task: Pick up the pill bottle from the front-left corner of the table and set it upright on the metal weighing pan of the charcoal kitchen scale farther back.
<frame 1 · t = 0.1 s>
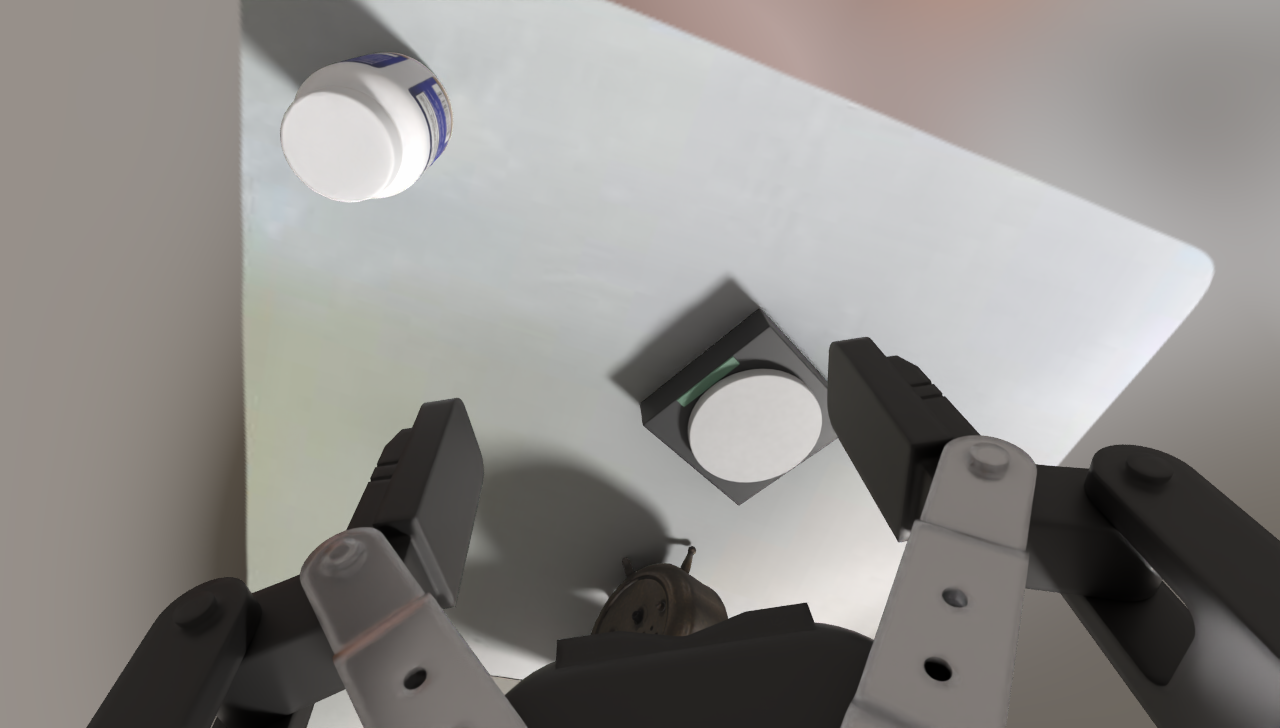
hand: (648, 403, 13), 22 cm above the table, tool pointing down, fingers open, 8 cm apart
alarm clock: (642, 567, 48), on the table
pill bottle: (401, 111, 30), on the table
scale: (744, 403, 40), on the table
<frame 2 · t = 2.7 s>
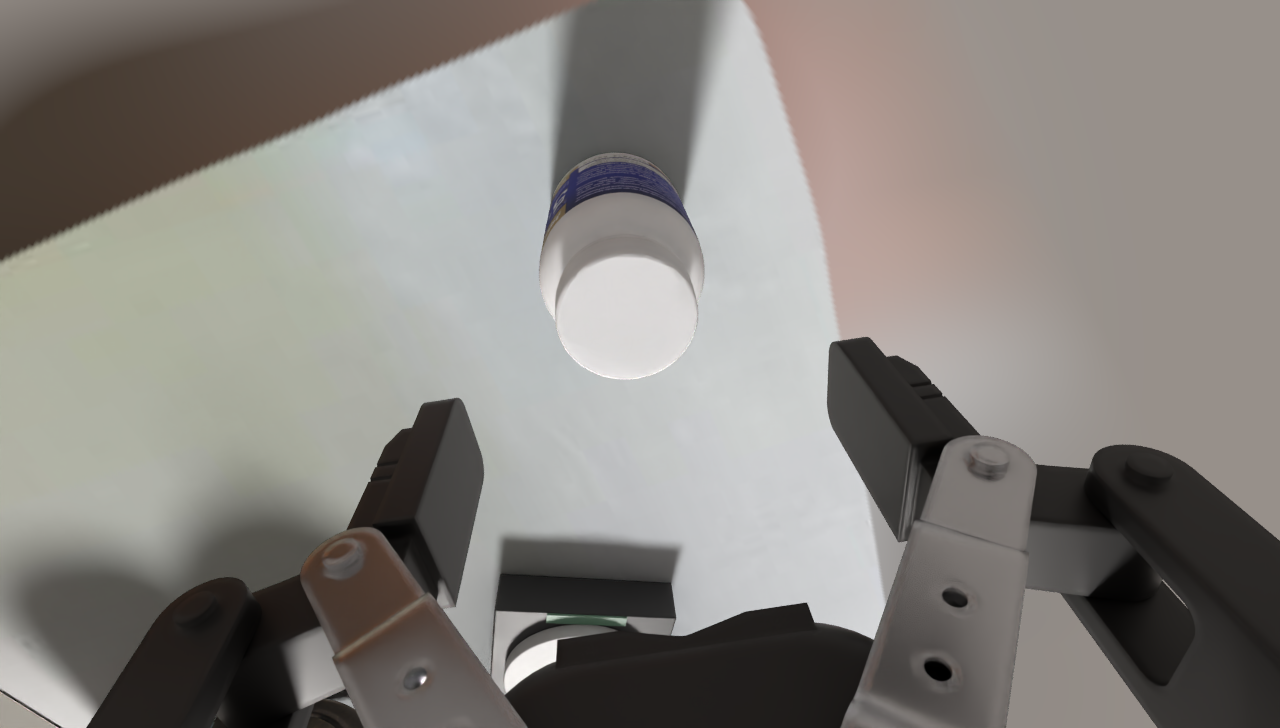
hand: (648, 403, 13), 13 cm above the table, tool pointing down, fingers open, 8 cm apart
alarm clock: (323, 688, 39), on the table
pill bottle: (615, 217, 24), on the table
scale: (578, 632, 37), on the table
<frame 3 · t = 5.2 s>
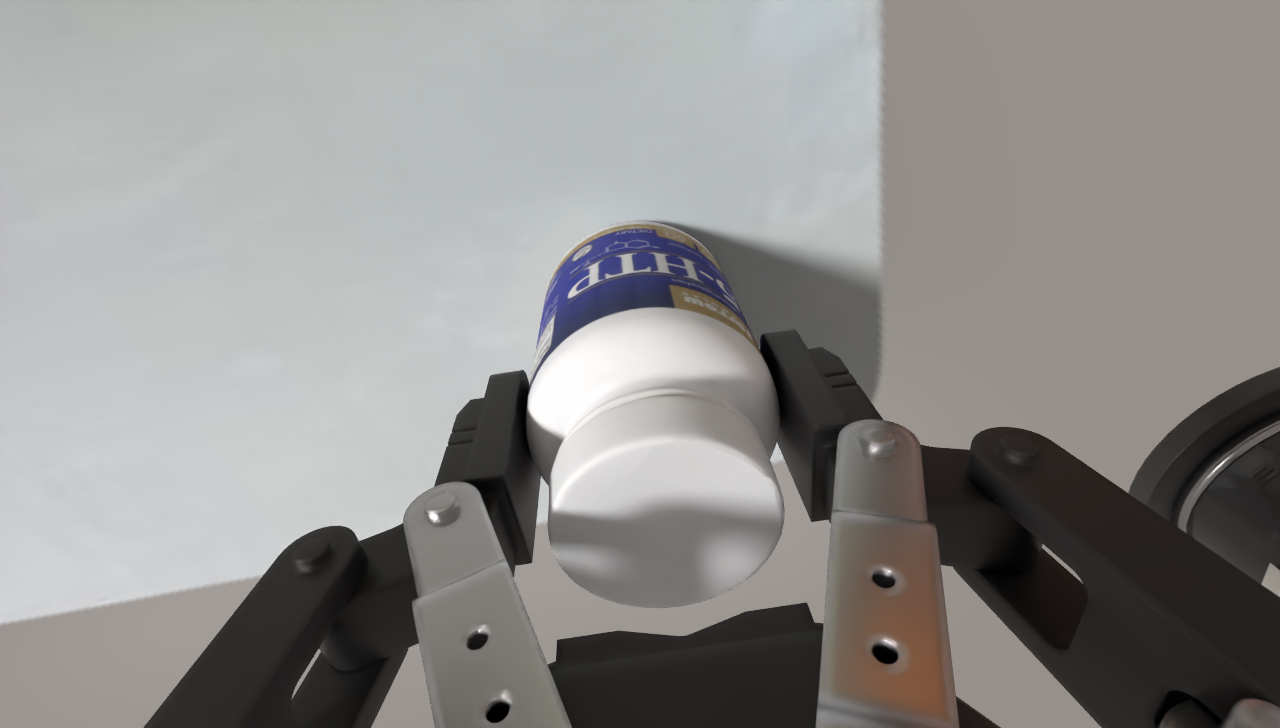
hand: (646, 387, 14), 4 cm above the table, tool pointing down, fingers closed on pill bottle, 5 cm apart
pill bottle: (635, 301, 18), on the table, touching gripper
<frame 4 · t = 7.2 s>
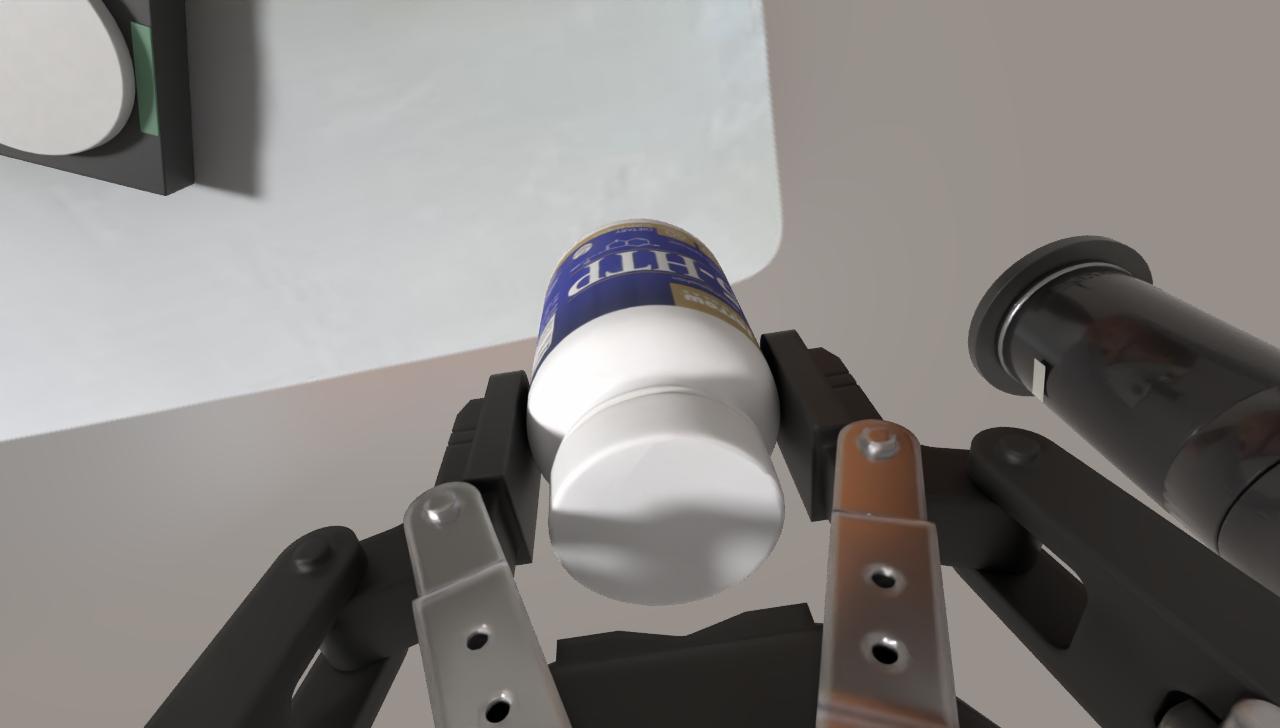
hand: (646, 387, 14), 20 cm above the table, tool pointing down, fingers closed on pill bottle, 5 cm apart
pill bottle: (635, 299, 18), point 16 cm above the table, touching gripper
scale: (63, 41, 26), on the table
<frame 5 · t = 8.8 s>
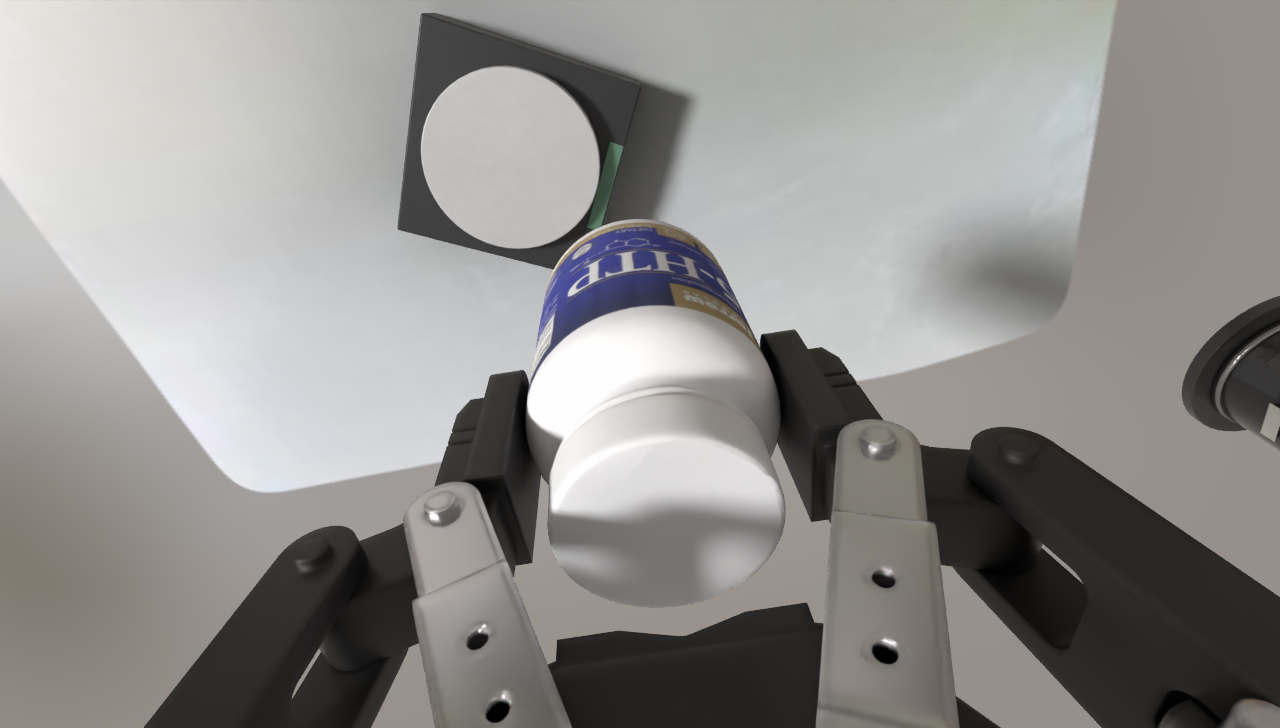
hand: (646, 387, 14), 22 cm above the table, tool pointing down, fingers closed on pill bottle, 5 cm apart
pill bottle: (635, 300, 18), point 17 cm above the table, touching gripper
scale: (518, 151, 31), on the table
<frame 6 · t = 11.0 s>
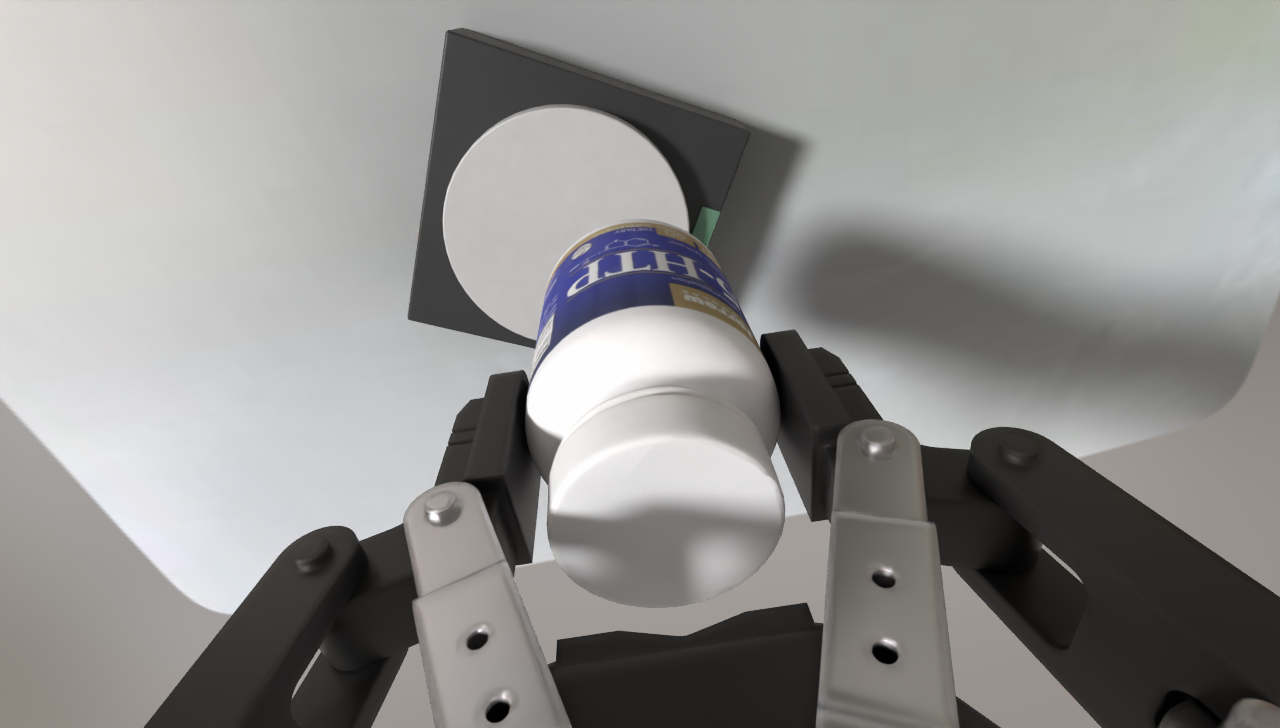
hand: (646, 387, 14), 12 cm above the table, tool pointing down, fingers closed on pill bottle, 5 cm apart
pill bottle: (634, 300, 18), point 7 cm above the table, touching gripper
scale: (570, 211, 23), on the table
when the fingers open (8 cm above the table, at t = 12.6 s): pill bottle stays where it is, resting on scale.
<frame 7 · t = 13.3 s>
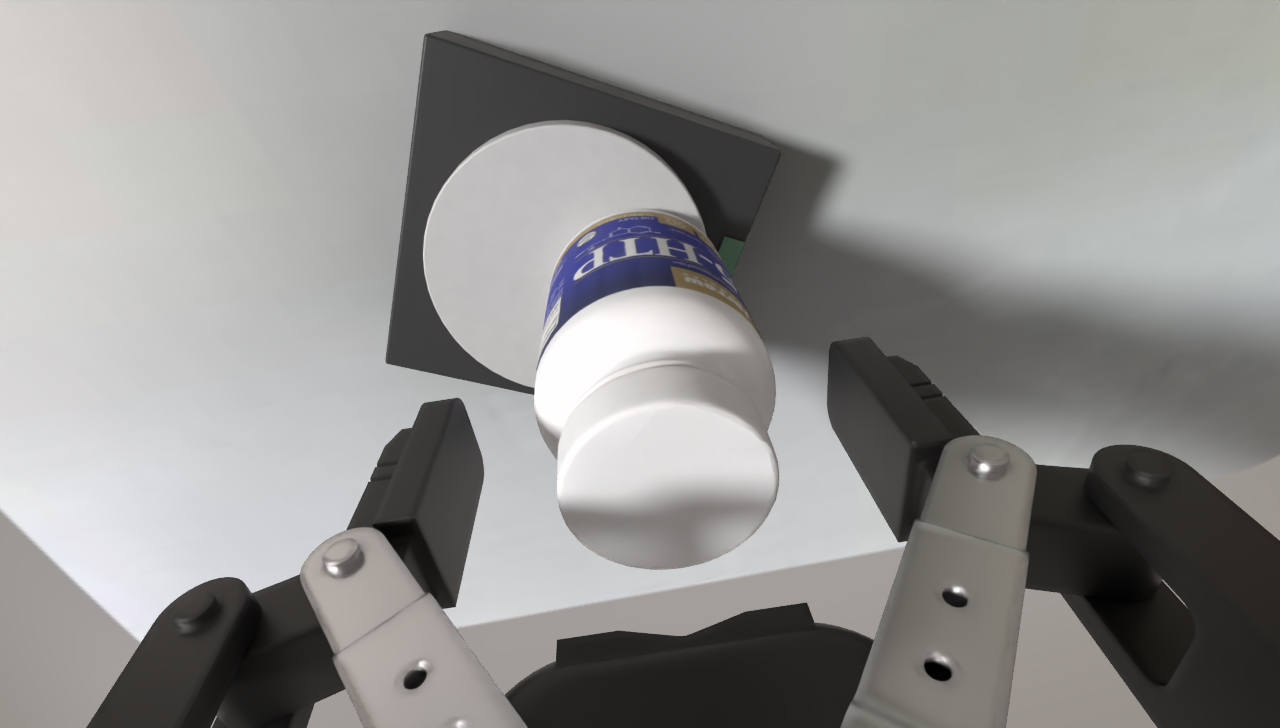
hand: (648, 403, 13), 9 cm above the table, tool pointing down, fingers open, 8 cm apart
pill bottle: (636, 287, 18), point 3 cm above the table, touching scale
scale: (571, 239, 20), on the table
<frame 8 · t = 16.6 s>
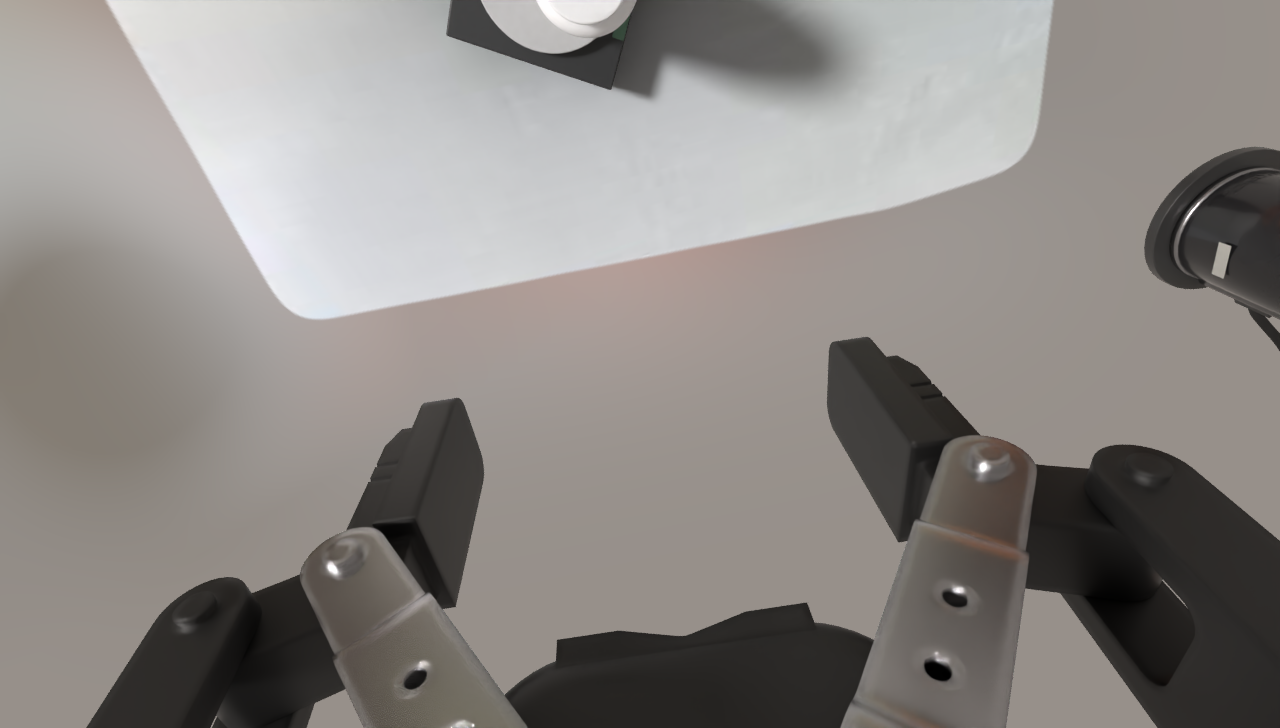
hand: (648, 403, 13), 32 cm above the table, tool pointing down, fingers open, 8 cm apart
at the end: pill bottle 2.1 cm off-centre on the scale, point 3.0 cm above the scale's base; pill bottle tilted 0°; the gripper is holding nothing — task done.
